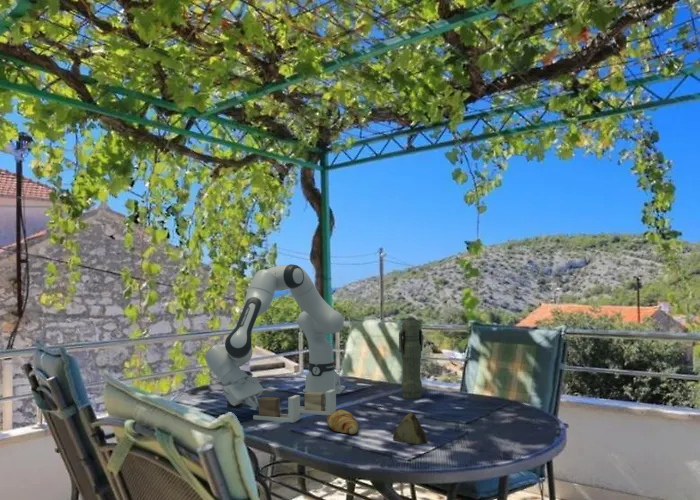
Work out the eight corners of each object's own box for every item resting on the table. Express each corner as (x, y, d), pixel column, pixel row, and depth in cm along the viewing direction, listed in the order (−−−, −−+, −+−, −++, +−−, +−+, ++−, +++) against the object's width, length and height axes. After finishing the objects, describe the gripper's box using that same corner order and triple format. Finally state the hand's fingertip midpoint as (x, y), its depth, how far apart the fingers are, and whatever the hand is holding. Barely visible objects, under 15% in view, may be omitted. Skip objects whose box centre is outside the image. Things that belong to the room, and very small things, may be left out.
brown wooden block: (263, 416, 223) (263, 397, 223) (280, 417, 220) (279, 398, 221) (259, 418, 219) (258, 399, 220) (275, 420, 217) (275, 400, 217)
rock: (383, 434, 191) (401, 436, 183) (394, 410, 195) (412, 412, 187) (406, 450, 195) (425, 453, 186) (416, 426, 199) (435, 428, 190)
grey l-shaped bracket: (260, 418, 224) (260, 392, 225) (300, 421, 218) (299, 395, 219) (253, 421, 219) (252, 395, 220) (293, 425, 213) (293, 398, 214)
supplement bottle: (239, 410, 238) (239, 381, 239) (224, 409, 240) (224, 380, 240) (246, 406, 245) (245, 378, 246) (230, 406, 247) (230, 377, 247)
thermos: (395, 397, 260) (393, 318, 261) (415, 393, 267) (413, 317, 268) (408, 400, 253) (406, 320, 254) (428, 396, 259) (426, 318, 261)
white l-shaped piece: (297, 411, 234) (297, 387, 235) (336, 414, 228) (335, 389, 229) (291, 415, 229) (290, 390, 229) (330, 418, 223) (330, 392, 223)
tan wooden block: (308, 410, 232) (308, 391, 232) (324, 411, 229) (324, 392, 229) (304, 412, 228) (304, 393, 228) (320, 414, 226) (320, 394, 226)
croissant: (362, 445, 199) (372, 423, 201) (339, 435, 195) (349, 412, 197) (335, 429, 217) (344, 409, 219) (313, 420, 213) (323, 399, 215)
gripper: (224, 379, 216) (248, 407, 212) (253, 370, 235) (274, 396, 231) (214, 391, 217) (237, 419, 213) (243, 381, 236) (264, 407, 232)
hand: (257, 407), depth 222 cm, fingers closed
